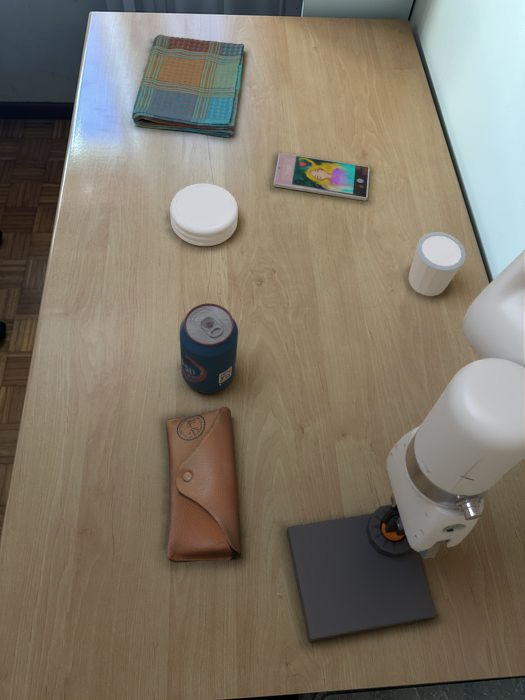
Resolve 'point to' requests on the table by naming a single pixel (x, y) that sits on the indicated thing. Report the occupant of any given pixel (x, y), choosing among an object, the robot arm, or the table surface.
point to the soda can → (208, 347)
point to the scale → (356, 577)
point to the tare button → (390, 534)
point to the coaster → (204, 214)
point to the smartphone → (322, 176)
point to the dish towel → (190, 86)
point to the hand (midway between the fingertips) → (397, 523)
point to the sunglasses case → (203, 488)
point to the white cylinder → (435, 263)
